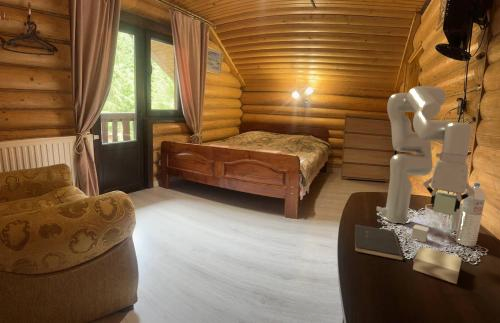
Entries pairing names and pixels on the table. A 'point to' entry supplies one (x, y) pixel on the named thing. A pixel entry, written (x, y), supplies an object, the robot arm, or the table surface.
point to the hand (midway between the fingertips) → (444, 207)
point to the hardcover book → (377, 242)
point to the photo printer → (455, 219)
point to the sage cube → (444, 203)
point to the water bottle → (470, 217)
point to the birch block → (437, 264)
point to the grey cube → (420, 233)
